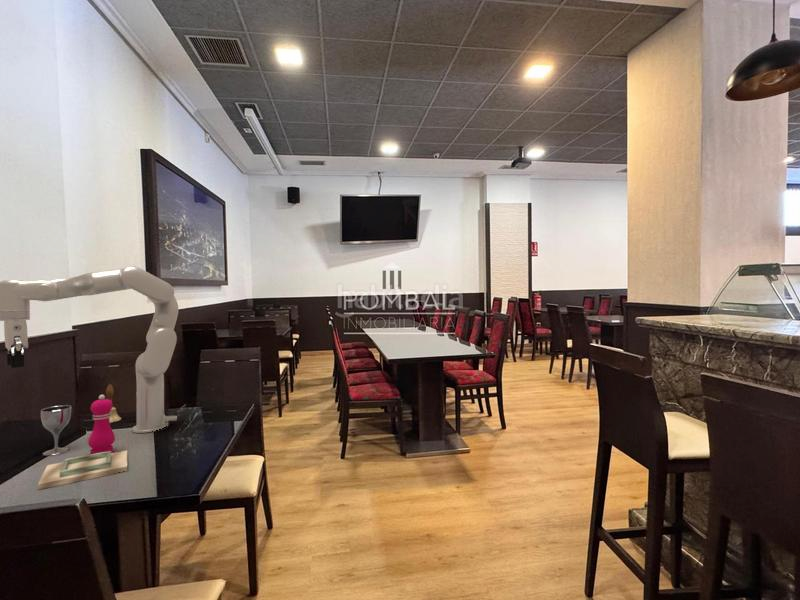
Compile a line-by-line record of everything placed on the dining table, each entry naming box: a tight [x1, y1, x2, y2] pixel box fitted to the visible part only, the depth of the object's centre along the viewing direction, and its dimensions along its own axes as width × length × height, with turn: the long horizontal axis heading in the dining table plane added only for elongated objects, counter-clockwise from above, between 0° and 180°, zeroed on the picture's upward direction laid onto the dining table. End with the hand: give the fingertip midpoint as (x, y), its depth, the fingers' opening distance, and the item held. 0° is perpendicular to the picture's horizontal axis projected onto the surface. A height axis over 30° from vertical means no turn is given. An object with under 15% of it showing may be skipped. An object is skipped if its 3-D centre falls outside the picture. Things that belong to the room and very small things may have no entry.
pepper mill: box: [87, 394, 116, 455], centre depth 132 cm, size 7×7×20 cm
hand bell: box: [105, 384, 122, 424], centre depth 170 cm, size 8×8×16 cm
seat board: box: [37, 450, 128, 491], centre depth 118 cm, size 20×16×3 cm
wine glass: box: [40, 404, 72, 456], centre depth 134 cm, size 8×8×15 cm
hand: (15, 365), depth 133 cm, fingers open, 9 cm apart
